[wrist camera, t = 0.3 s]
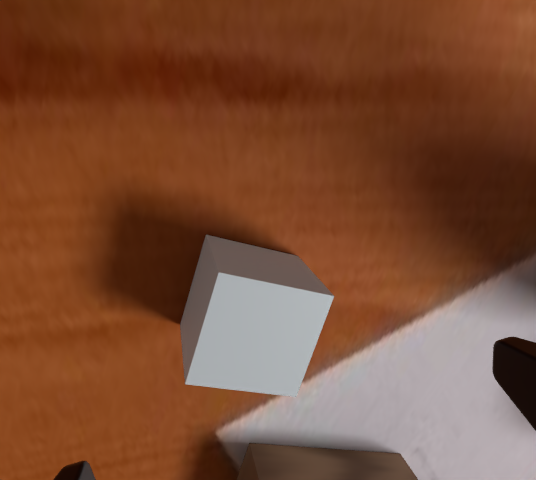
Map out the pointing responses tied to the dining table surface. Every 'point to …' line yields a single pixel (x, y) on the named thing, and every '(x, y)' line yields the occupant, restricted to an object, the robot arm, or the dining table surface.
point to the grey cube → (251, 319)
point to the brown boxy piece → (321, 464)
